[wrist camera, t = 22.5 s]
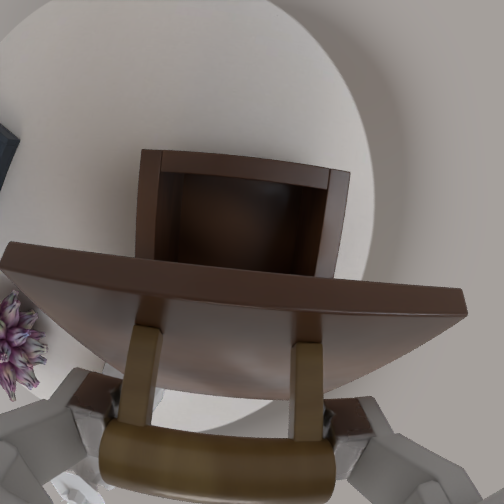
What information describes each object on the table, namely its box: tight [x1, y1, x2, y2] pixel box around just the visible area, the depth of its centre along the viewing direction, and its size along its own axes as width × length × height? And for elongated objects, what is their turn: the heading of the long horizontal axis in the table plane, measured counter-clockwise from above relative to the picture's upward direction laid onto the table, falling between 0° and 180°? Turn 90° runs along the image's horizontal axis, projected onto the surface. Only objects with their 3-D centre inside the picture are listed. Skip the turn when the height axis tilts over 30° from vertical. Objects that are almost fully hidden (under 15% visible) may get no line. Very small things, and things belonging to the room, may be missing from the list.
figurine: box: [50, 362, 165, 504], centre depth 19 cm, size 7×8×18 cm
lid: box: [0, 241, 468, 504], centre depth 11 cm, size 15×11×5 cm
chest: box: [135, 149, 350, 278], centre depth 21 cm, size 14×11×8 cm
